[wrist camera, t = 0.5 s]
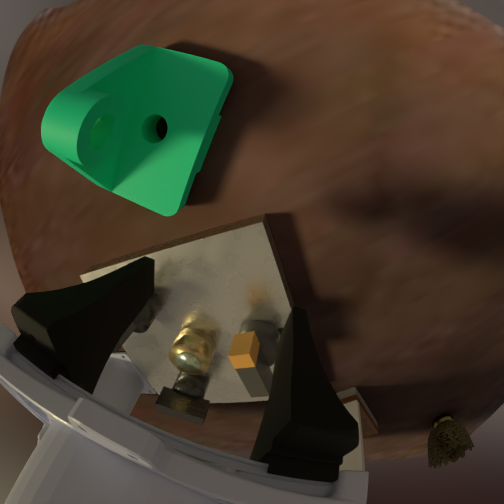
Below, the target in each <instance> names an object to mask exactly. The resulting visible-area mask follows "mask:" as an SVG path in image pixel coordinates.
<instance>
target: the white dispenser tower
mask: <svg viewBox="0 0 504 504" xmlns="http://www.w3.org/2000/svg"><path fill="white" fill-rule="evenodd" d="M336 394H337V396H338V397H339V399H340V401H341V402H342V403H343V405H344V406H345V408H346V409H347V410H348V411H349V413H350V414H351V415H352V416H353V417H354V419H355V420H356V421H357V422H358V427H359V445H358V447H357V448H355V449H354V450H353V451H351V452H350V453H348V454H347V455H345V456H343V463H342V465H340V467H339V471H342V470H354V471H365V465H364V449H363V438H366V437H369V436H372V435H375V434H378V433H379V431H378V424H377V421H376V419H375V417H374V416H373V414H372V413H371V411H370V409H369V408H368V406H367V405H366V403H365V401H364V400H363V398H362V397H361V395H360V393H359V392H358V390H357V389H356V387H352V388H350V389H347V390H344V391H341V392H338V393H336Z"/></svg>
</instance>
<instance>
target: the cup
mask: <svg viewBox="0 0 504 504" xmlns="http://www.w3.org/2000/svg"><path fill="white" fill-rule="evenodd" d="M432 427H433V430H432V432H431V433H430V435H429V438H428V459H429V467H430V468H431V467H432V465H433V466H434V468H436V466H438V467H441V465H442V463H443V462H444V464H445V466H446V465H447V464H448V461H451V462H456V461H457V460H458V459H459V457H462V458H463V457H464V456H465V450H467V449H469V450H472V447H474V445H473V443H472V441H471V438H470V436H469V434H468V432H467V430H466V428H465V426H464V425H463V423H461V422H460V421H458V420H453V416H452V415H451V414H444V415H441V416H439V417H438V418H436V419H435V420H434V422H433V425H432Z"/></svg>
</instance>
